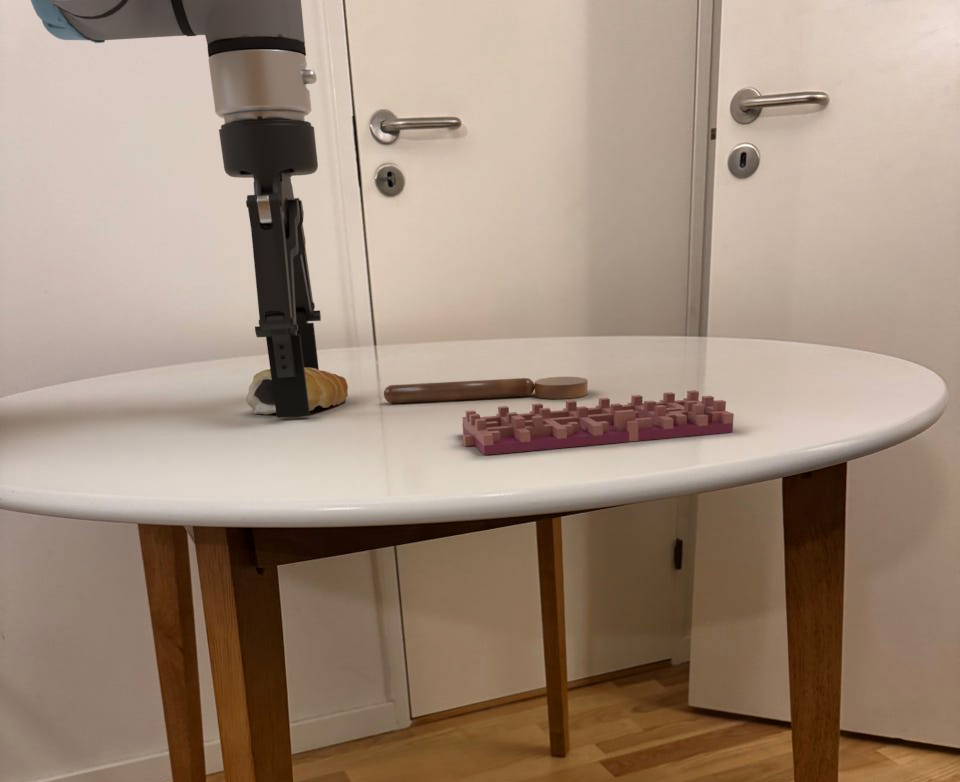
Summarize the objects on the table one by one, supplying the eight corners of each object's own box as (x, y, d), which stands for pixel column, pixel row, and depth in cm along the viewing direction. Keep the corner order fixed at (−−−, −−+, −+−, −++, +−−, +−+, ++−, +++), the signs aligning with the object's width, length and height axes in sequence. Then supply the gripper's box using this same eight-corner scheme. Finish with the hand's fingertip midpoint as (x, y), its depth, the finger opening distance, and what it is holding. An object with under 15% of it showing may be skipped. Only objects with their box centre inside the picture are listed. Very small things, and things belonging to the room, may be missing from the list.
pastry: (314, 396, 89) (309, 354, 88) (368, 400, 86) (365, 357, 84) (241, 413, 82) (235, 369, 81) (298, 419, 79) (292, 373, 77)
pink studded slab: (454, 435, 70) (453, 408, 69) (690, 414, 74) (691, 389, 73) (475, 455, 64) (473, 427, 63) (732, 432, 67) (734, 404, 66)
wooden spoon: (383, 408, 82) (381, 389, 81) (385, 399, 86) (384, 381, 86) (591, 397, 82) (591, 378, 82) (583, 388, 87) (583, 371, 86)
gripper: (295, 102, 65) (331, 427, 74) (326, 131, 85) (351, 383, 94) (186, 107, 64) (235, 432, 74) (243, 134, 84) (276, 388, 94)
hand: (300, 405), depth 84 cm, fingers open, 9 cm apart
